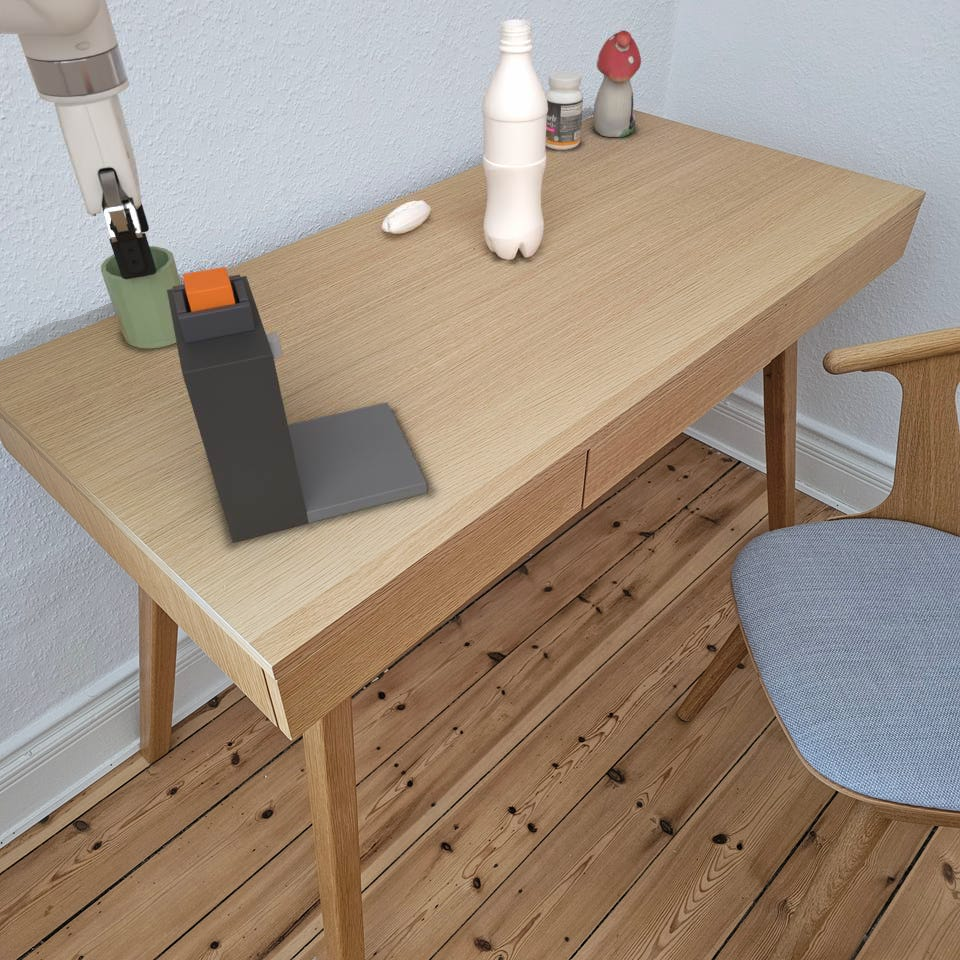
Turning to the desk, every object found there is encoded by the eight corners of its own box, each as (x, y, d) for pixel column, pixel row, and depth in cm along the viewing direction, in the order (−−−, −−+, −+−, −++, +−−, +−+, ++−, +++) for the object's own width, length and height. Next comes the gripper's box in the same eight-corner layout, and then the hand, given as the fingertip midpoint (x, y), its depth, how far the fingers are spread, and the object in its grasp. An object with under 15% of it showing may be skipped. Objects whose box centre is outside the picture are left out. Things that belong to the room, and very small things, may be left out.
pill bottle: (536, 141, 130) (537, 72, 124) (568, 135, 132) (572, 66, 125) (554, 153, 126) (556, 83, 120) (587, 147, 128) (591, 77, 122)
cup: (126, 354, 87) (101, 284, 82) (122, 321, 92) (99, 253, 87) (195, 340, 89) (176, 271, 84) (188, 309, 94) (170, 241, 89)
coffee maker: (232, 543, 66) (174, 347, 55) (213, 452, 75) (159, 265, 63) (427, 493, 70) (412, 300, 59) (388, 412, 79) (368, 229, 67)
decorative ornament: (626, 143, 129) (636, 35, 119) (584, 138, 131) (591, 31, 121) (640, 123, 135) (651, 19, 126) (600, 118, 137) (608, 16, 127)
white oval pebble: (379, 236, 107) (376, 215, 105) (418, 213, 111) (416, 192, 110) (398, 242, 105) (396, 221, 103) (437, 219, 110) (436, 198, 108)
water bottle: (508, 232, 107) (509, 10, 90) (554, 248, 103) (565, 21, 87) (471, 253, 103) (466, 25, 86) (518, 270, 99) (522, 36, 83)
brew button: (194, 322, 59) (186, 293, 57) (189, 301, 61) (182, 273, 59) (237, 313, 60) (231, 285, 58) (232, 294, 62) (225, 266, 60)
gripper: (35, 49, 79) (95, 224, 90) (30, 109, 66) (100, 302, 78) (119, 40, 80) (167, 212, 92) (129, 96, 68) (183, 286, 80)
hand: (136, 253), depth 85 cm, fingers open, 9 cm apart
